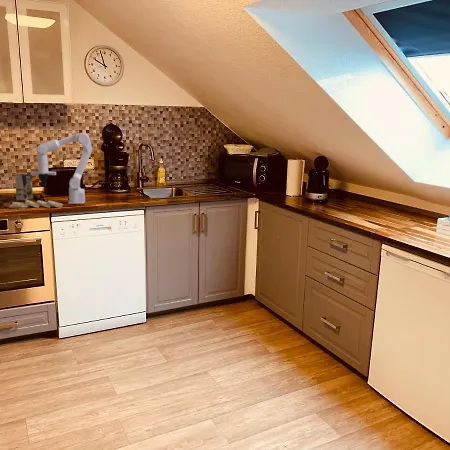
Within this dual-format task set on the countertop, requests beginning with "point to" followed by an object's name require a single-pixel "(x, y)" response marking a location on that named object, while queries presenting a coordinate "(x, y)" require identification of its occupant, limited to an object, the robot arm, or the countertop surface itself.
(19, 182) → the coffee box
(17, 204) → the domino
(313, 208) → the countertop surface
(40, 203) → the domino
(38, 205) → the domino
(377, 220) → the countertop surface
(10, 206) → the end domino
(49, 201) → the domino
